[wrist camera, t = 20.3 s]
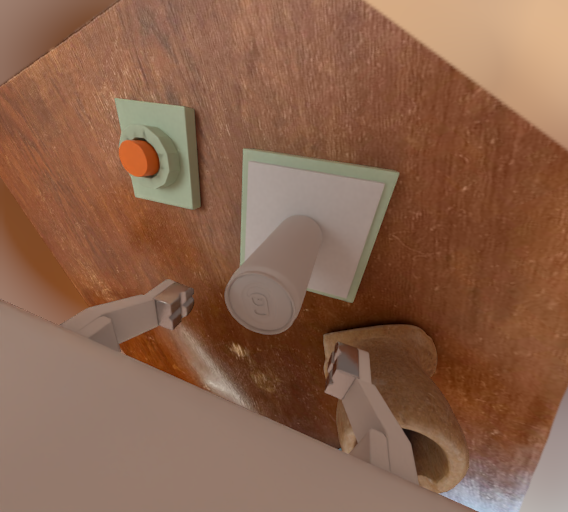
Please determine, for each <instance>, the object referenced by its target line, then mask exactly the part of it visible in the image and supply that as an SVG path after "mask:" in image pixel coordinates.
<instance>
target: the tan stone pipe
mask: <svg viewBox="0 0 568 512" xmlns="http://www.w3.org/2000/svg"><path fill="white" fill-rule="evenodd" d="M337 342H341V343H344V344H347V345H350V346H352V347H355V348H357V349H361V350H363V351H366V352H368V353H369V358H370V370H371V383H372V384H373V385H375V386H376V388H377V390H378V391H379V393H380V394H381V396H382V398H383V399H384V401H385V402H386V404H387V406H388V407H389V409H390V411H391V412H392V414H393V415H394V417H395V419H396V420H397V422H398V424H399V425H400V427H401V428H402V430H403V432H404V433H405V435H406V436H407V438H408V440H409V441H410V443H411V446H412V451H413V456H414V461H415V467H416V472H417V477H418V482H419V486H421V487H424V488H426V489H428V490H430V491H433V492H435V493H437V494H439V493H442V492H447V491H449V490H450V489H452V488H454V487H455V486H456V485H457V484H458V483H459V482H460V481H461V480H462V479H463V478H464V476H465V475H466V472H467V470H468V468H469V450H468V447H467V443H466V439H465V436H464V434H463V432H462V429H461V427H460V425H459V423H458V421H457V419H456V417H455V415H454V413H453V411H452V409H451V407H450V405H449V403H448V401H447V400H446V398H445V397H444V395H443V394H442V392H441V391H440V390H439V388H438V387H437V386H436V384H435V383H434V382H433V381H432V380H431V379H430V377H431V376H432V375H433V374H434V373H435V370H436V365H437V352H436V348H435V345H434V343H433V341H432V339H431V338H430V337H429V336H427V335H426V333H425V332H424V331H423V330H422V329H421V328H419V327H416V326H413V325H405V324H391V325H378V326H371V327H364V328H356V329H350V330H344V331H338V332H331V333H327V334H324V335H323V344H324V352H325V357H326V360H325V363H324V374H325V378H327V376H328V371H327V368H328V362H329V358H330V356H331V353H332V352H333V351H334V349H335V345H336V343H337ZM336 423H337V429H338V436H339V441H340V445H341V450H342V451H343V452H345V453H347V454H349V453H350V452H351V451H352V450H353V448H354V447H355V446H356V445H357V444H358V442H357V440H356V437H355V434H354V432H353V429H352V426H351V424H350V421H349V419H348V416H347V413H346V411H345V408H344V405H343V403H342V400H341V399H339V400H338V405H337V410H336Z"/></svg>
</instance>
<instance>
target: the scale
mask: <svg viewBox="0 0 568 512" xmlns="http://www.w3.org/2000/svg"><path fill="white" fill-rule="evenodd" d="M398 176H399V172H397V171H395V170H391V169H384V168H378V167H371V166H365V165H358V164H352V163H345V162H339V161H332V160H326V159H319V158H313V157H306V156H299V155H293V154H286V153H280V152H273V151H267V150H260V149H254V148H244V149H243V171H242V209H241V248H240V266H241V265H242V264H243V263H244V262H245V261H246V260H247V259H248V258H249V257H250V255H251V254H252V253H253V252H254V251H255V250H256V249H257V248H258V247H259V246H260V245H261V244H262V243H263V242H264V241H265V240H266V239H267V238H268V236H269V235H270V234H271V233H272V232H273V231H274V230H275V229H276V228H277V227H278V226H279V225H280V224H281V223H282V222H283V221H284V220H285V219H286V218H288V217H290V216H293V215H304V216H307V217H309V218H311V219H312V220H314V221H315V222H316V223H317V224H318V226H319V227H320V230H321V232H322V242H321V245H320V248H319V252H318V255H317V258H316V262H315V265H314V268H313V272H312V275H311V278H310V281H309V284H308V287H307V291H310V292H314V293H318V294H321V295H325V296H329V297H332V298H336V299H340V300H343V301H347V302H351V303H353V301H354V299H355V296H356V293H357V290H358V287H359V285H360V282H361V279H362V276H363V273H364V271H365V268H366V265H367V262H368V260H369V257H370V254H371V251H372V248H373V246H374V243H375V240H376V237H377V235H378V232H379V229H380V226H381V223H382V221H383V218H384V215H385V212H386V210H387V207H388V204H389V201H390V198H391V196H392V193H393V190H394V187H395V184H396V182H397V179H398Z"/></svg>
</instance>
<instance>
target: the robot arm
mask: <svg viewBox="0 0 568 512" xmlns="http://www.w3.org/2000/svg"><path fill="white" fill-rule="evenodd" d="M193 294H194V289H192V288H190V287H188V286H185V285H183V284H180V283H178V282H175V281H172V280H170V279H168V280H165V281H164V282H162V283H161V284H159V285H158V286H156V287H155V288H154V289H152V290H151V291H149V292H148V293H147V294H145V295H138V296H134V297H130V298H126V299H122V300H118V301H114V302H110V303H106V304H102V305H98V306H94V307H90V308H87V309H85V310H83V311H82V312H80V313H78V314H77V315H75V316H74V317H72V318H70V319H69V320H67V321H65V322H64V323H62V324H60V325H57V324H55V323H53V322H51V321H48V320H46V319H44V318H42V317H39V316H37V315H35V314H33V313H30V312H28V311H26V310H24V309H22V308H19V307H17V306H15V305H13V304H10V303H8V302H6V301H4V300H2V299H0V512H478V511H475V510H473V509H471V508H469V507H466V506H464V505H462V504H460V503H457V502H455V501H453V500H451V499H448V498H446V497H444V496H442V495H439V494H437V493H435V492H433V491H430V490H428V489H426V488H424V487H421V486H419V482H418V477H417V472H416V467H415V461H414V456H413V451H412V446H411V443H410V441H409V440H408V438H407V436H406V435H405V433H404V432H403V430H402V428H401V427H400V425H399V424H398V422H397V420H396V419H395V417H394V415H393V414H392V412H391V411H390V409H389V407H388V406H387V404H386V402H385V401H384V399H383V398H382V396H381V394H380V393H379V391H378V390H377V388H376V386H375V385H373V384H372V383H371V370H370V358H369V353H368V352H366V351H363V350H361V349H357V348H355V347H352V346H350V345H347V344H344V343H341V342H337V343H336V345H335V349H334V351H333V352H332V353H331V356H330V358H329V362H328V368H327V371H328V376H327V378H326V385H325V393H327V394H329V395H332V396H334V397H336V398H339V399H341V400H342V403H343V405H344V408H345V411H346V413H347V416H348V419H349V421H350V424H351V426H352V429H353V432H354V434H355V437H356V440H357V442H358V444H357V445H356V446H355V447H354V448H353V450H352V451H351V452H350V453H349V454H347V453H345V452H343V451H341V450H338V449H336V448H334V447H332V446H329V445H327V444H325V443H323V442H320V441H318V440H316V439H314V438H311V437H309V436H307V435H305V434H302V433H300V432H298V431H296V430H293V429H291V428H289V427H287V426H284V425H282V424H280V423H278V422H275V421H273V420H271V419H269V418H266V417H264V416H262V415H260V414H257V413H255V412H253V411H251V410H248V409H246V408H244V407H242V406H239V405H237V404H235V403H233V402H230V401H228V400H226V399H224V398H221V397H219V396H217V395H215V394H212V393H210V392H208V391H206V390H203V389H201V388H199V387H197V386H194V385H192V384H190V383H188V382H185V381H183V380H181V379H179V378H176V377H174V376H172V375H170V374H167V373H165V372H163V371H161V370H158V369H156V368H154V367H152V366H149V365H147V364H145V363H143V362H140V361H138V360H136V359H134V358H131V357H129V356H127V355H125V354H122V353H121V350H120V346H119V344H120V343H122V342H124V341H126V340H128V339H131V338H133V337H135V336H137V335H140V334H142V333H144V332H146V331H148V330H151V329H153V328H155V327H157V326H158V325H159V326H162V327H165V328H168V329H170V330H173V329H174V328H175V327H176V326H177V325H178V324H179V323H180V322H181V319H182V317H185V316H187V315H188V314H189V313H190V312H191V310H192V308H193V306H194V299H193V297H192V295H193Z"/></svg>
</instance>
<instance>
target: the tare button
mask: <svg viewBox="0 0 568 512" xmlns="http://www.w3.org/2000/svg"><path fill="white" fill-rule="evenodd" d="M119 157H120V160H121V162H122V164H123V166H124V168H125V169H126V170H127V171H128V172H129V173H130V174H131V175H133V176H136V177H143V176H150V175H154V174H156V173H157V172H158V170H159V167H160V162H159V157H158V154H157V152H156V150H155V149H154V147H153V146H152V145H151V144H149V143H148V142H146V141H142V140H125V141H123V142H122V143H121V145H120V147H119Z"/></svg>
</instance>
